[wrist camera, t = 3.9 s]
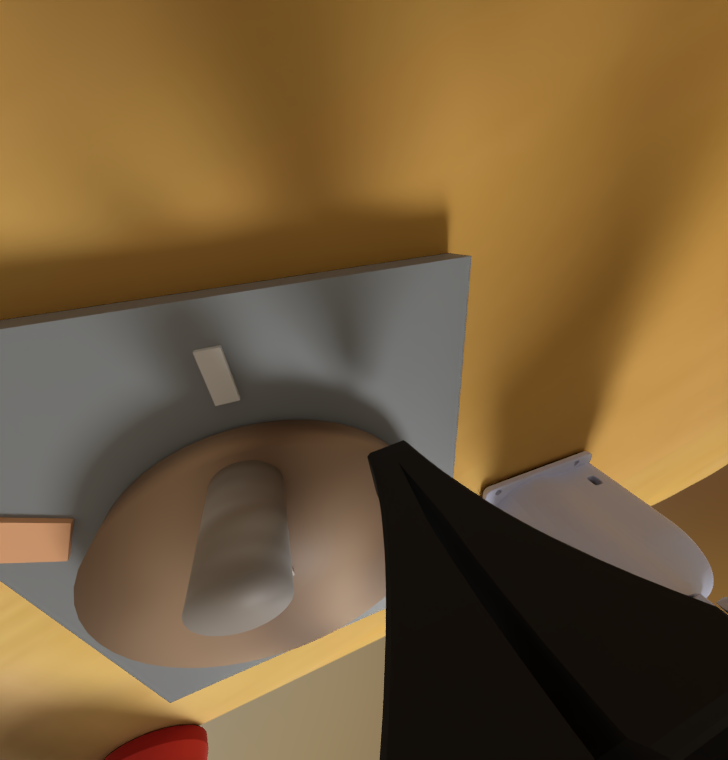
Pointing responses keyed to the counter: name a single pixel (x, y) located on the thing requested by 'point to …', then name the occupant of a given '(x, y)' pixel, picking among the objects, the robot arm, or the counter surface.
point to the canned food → (166, 745)
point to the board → (209, 401)
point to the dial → (238, 547)
